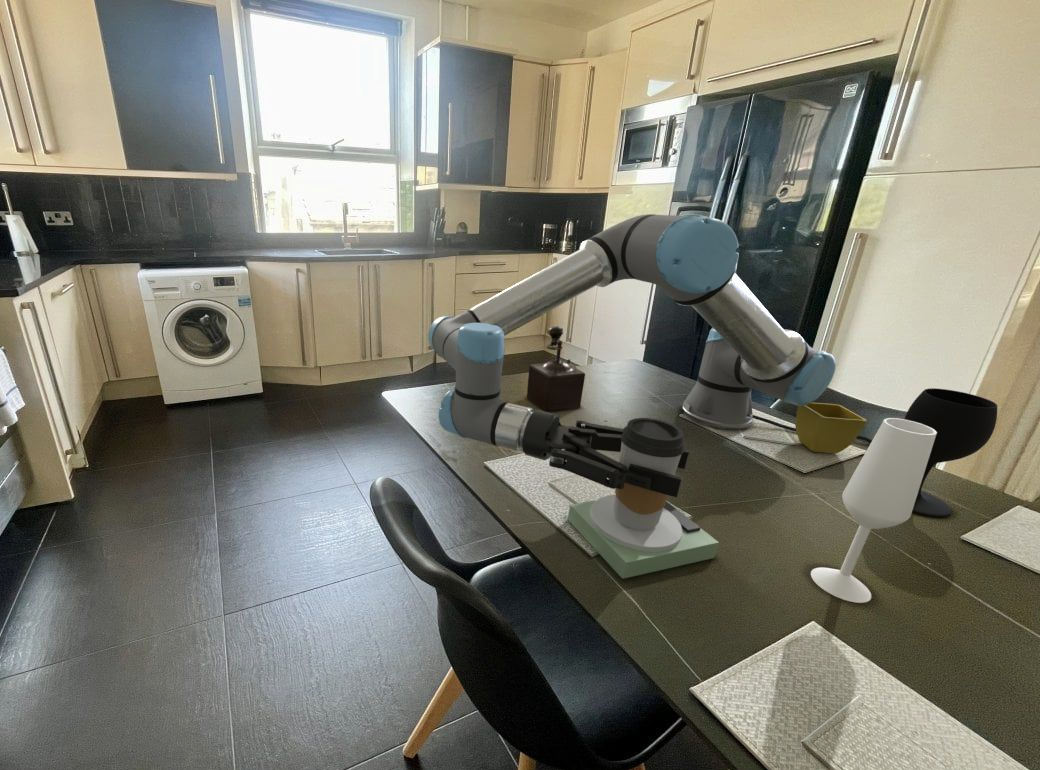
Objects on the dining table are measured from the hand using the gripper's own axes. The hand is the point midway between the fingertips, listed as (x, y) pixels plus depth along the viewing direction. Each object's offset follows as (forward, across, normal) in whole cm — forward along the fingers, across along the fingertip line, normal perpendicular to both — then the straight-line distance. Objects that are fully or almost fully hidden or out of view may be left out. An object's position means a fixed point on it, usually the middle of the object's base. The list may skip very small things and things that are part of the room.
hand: (683, 473), depth 67 cm
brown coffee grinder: (-35, -49, -13) cm, 62 cm away
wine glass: (+36, -40, -13) cm, 56 cm away
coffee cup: (-5, 0, -10) cm, 11 cm away
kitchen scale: (-4, -1, -13) cm, 14 cm away
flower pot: (+24, -56, -13) cm, 63 cm away
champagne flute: (+22, -6, -13) cm, 26 cm away
